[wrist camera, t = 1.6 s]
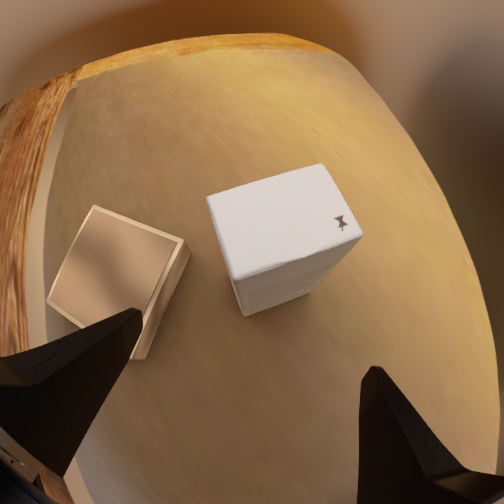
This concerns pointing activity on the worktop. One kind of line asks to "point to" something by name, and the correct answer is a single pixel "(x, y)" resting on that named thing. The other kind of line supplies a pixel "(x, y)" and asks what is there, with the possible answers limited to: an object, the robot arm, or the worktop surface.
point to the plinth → (119, 273)
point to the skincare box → (282, 235)
